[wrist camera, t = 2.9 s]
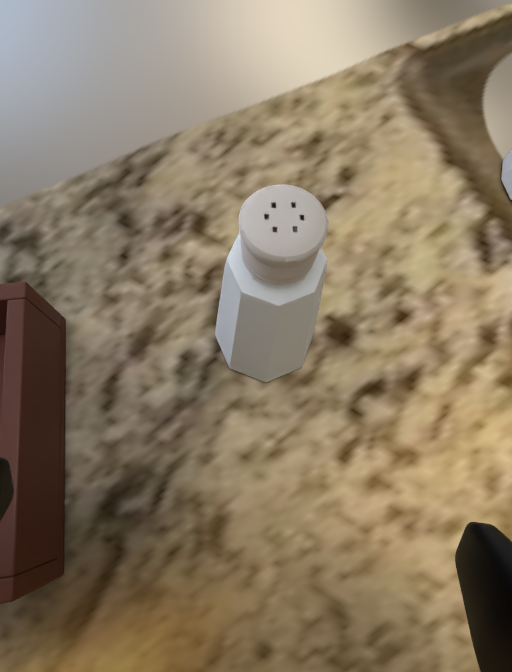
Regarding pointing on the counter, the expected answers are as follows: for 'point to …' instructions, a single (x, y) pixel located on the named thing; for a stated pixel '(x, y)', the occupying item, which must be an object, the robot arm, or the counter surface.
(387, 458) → the counter surface
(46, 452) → the bin
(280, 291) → the salt shaker
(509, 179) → the white cup
